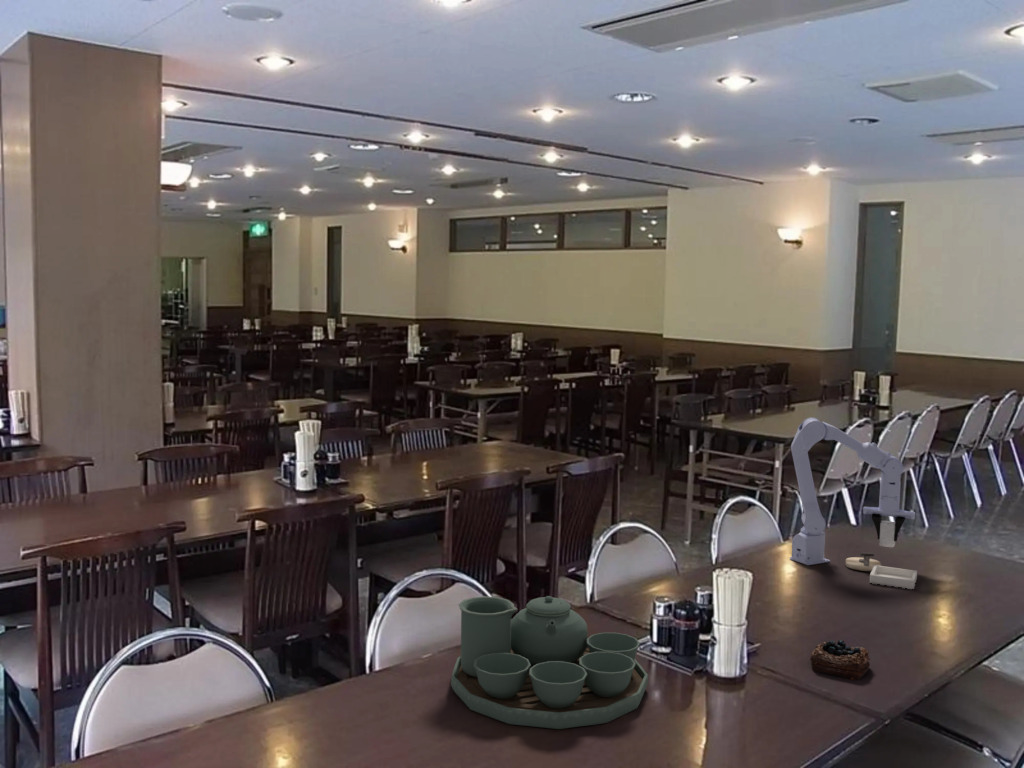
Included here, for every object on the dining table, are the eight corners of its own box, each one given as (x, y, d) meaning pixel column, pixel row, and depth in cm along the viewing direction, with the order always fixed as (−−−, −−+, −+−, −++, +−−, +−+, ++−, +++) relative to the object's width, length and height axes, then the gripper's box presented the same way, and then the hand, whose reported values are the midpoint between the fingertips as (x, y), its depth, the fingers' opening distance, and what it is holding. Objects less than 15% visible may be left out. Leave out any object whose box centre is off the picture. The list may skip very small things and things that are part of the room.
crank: (842, 561, 283) (842, 544, 283) (875, 562, 282) (876, 546, 282) (849, 570, 273) (850, 553, 273) (884, 572, 272) (885, 554, 272)
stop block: (879, 545, 279) (880, 523, 278) (880, 542, 282) (881, 520, 282) (893, 547, 277) (894, 524, 276) (894, 544, 281) (895, 522, 280)
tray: (869, 583, 262) (869, 574, 261) (874, 573, 272) (874, 564, 272) (913, 589, 256) (914, 581, 256) (916, 579, 267) (917, 570, 266)
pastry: (862, 683, 192) (864, 656, 192) (804, 671, 198) (805, 644, 198) (872, 666, 201) (874, 640, 201) (816, 655, 208) (817, 629, 207)
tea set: (499, 748, 162) (500, 657, 161) (426, 665, 198) (427, 591, 197) (687, 710, 178) (690, 628, 177) (588, 641, 215) (589, 572, 213)
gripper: (916, 495, 279) (914, 539, 280) (865, 490, 285) (863, 533, 286) (914, 500, 272) (912, 545, 274) (863, 494, 279) (860, 538, 280)
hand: (887, 539), depth 280 cm, fingers closed on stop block, 4 cm apart
